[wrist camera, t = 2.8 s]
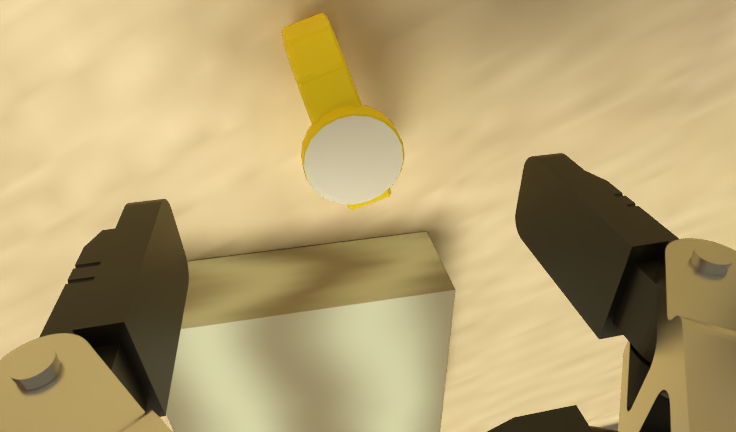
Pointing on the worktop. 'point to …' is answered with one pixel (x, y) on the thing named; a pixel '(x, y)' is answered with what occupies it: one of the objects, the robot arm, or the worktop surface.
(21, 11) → the worktop surface
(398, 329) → the block
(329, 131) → the watch
